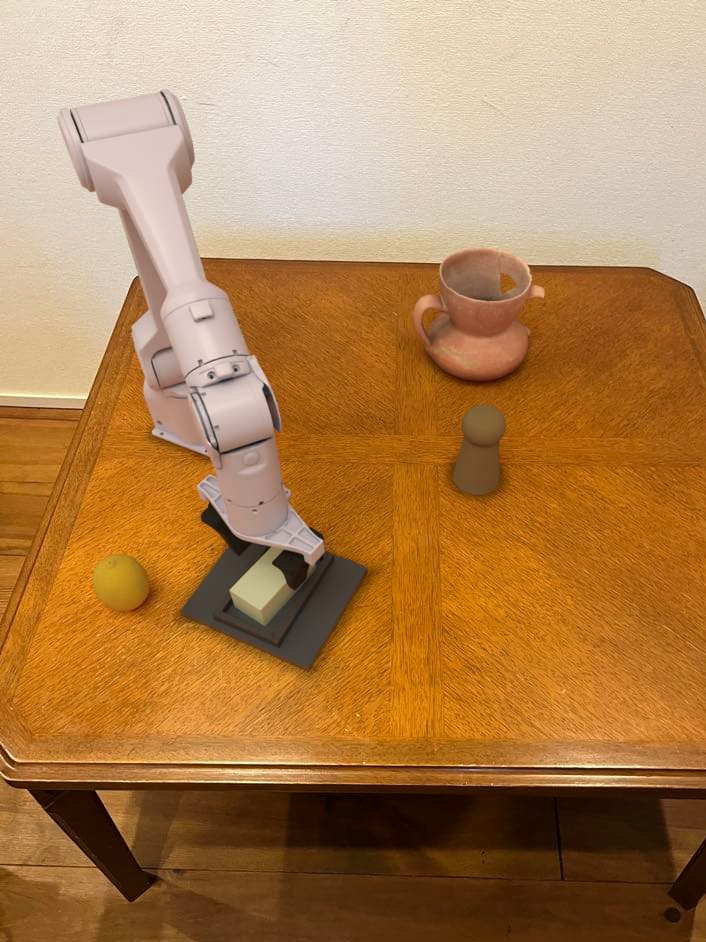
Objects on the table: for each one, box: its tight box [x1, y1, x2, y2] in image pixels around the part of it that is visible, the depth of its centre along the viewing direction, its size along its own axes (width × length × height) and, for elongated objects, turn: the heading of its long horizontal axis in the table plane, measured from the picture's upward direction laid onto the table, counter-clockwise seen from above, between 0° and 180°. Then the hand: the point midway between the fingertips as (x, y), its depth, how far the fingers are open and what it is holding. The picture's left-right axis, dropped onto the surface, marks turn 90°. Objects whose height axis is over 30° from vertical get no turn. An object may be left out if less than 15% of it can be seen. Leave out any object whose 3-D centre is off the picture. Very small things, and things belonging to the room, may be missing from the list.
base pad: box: [179, 542, 369, 673], centre depth 83 cm, size 16×14×2 cm
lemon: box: [92, 553, 151, 613], centre depth 79 cm, size 6×6×8 cm
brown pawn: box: [452, 404, 507, 496], centre depth 90 cm, size 6×6×11 cm
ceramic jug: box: [412, 247, 546, 382], centre depth 102 cm, size 18×14×14 cm
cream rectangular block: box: [229, 547, 316, 626], centre depth 81 cm, size 4×9×4 cm, turn 146°
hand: (270, 565), depth 79 cm, fingers open, 7 cm apart
